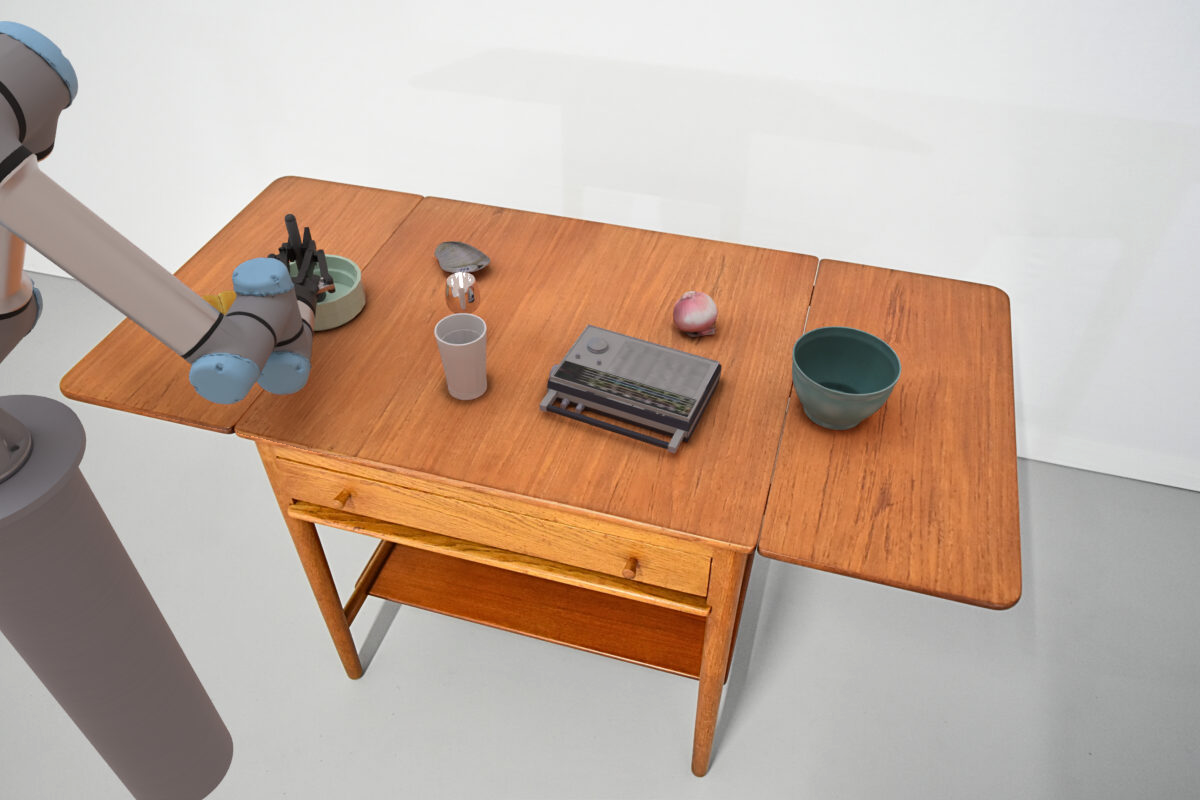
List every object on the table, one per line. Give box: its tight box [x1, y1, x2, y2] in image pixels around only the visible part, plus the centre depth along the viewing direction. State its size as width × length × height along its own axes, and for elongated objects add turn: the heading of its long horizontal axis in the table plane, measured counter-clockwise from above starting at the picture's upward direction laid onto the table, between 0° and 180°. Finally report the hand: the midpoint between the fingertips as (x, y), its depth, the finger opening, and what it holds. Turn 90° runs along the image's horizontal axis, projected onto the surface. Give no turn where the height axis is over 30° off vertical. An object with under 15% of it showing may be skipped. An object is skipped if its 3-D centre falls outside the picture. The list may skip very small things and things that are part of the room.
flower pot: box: [791, 325, 902, 431], centre depth 139 cm, size 16×16×11 cm
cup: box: [433, 313, 488, 401], centre depth 142 cm, size 8×8×12 cm
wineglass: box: [444, 272, 481, 314], centre depth 151 cm, size 6×6×12 cm
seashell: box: [433, 240, 492, 274], centre depth 168 cm, size 12×8×5 cm
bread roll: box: [201, 290, 236, 315], centre depth 158 cm, size 8×9×4 cm
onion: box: [672, 290, 719, 338], centre depth 155 cm, size 8×8×7 cm
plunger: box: [284, 213, 326, 303], centre depth 154 cm, size 6×6×17 cm
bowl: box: [289, 253, 367, 332], centre depth 159 cm, size 15×15×6 cm
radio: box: [538, 324, 722, 454], centre depth 143 cm, size 24×5×20 cm
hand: (300, 234), depth 157 cm, fingers closed on plunger, 2 cm apart
